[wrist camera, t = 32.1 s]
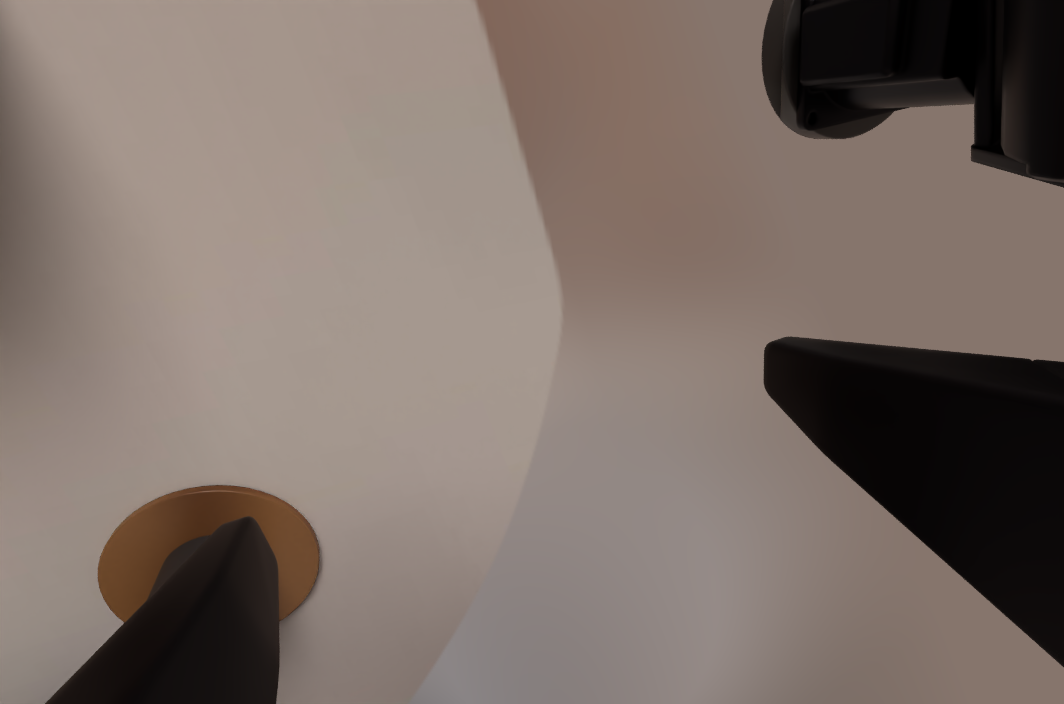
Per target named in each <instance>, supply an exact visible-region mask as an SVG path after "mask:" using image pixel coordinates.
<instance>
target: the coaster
mask: <svg viewBox="0 0 1064 704" xmlns="http://www.w3.org/2000/svg"><path fill="white" fill-rule="evenodd" d="M246 516H250V517H253V518H254V519H255V520H256V521H257V523H258V524H259V526H260V528H261V530H262V532H263V534H264V536H265V537H266V539H267V541H268V543H269V545H270V547H271V549H272V550H273V552H274V554H275V557H276V560H277V564H278V580H279V621H281V620H282V619H284V618H285V617H287V616H288V615H289V614H290V613H291V612H293V611H294V610H295V609H296V608H297V607H298V606H299V605H300V604H301V603H302V602H303V600H304V599H305V598H306V596H307V595H308V593H309V592H310V590H311V588H312V586H313V584H314V582H315V579H316V577H317V574H318V568H319V546H318V541H317V538H316V535H315V533H314V531H313V529H312V527H311V526H310V524H309V523H308V521H307V520H306V519H305V518H304V517H303V515H302V514H300V513H299V512H298V511H297V510H296V509H295V508H294V507H292V506H291V505H289V504H288V503H286V502H285V501H283V500H281V499H279V498H277V497H275V496H273V495H270V494H267V493H264V492H262V491H258V490H254V489H250V488H245V487H237V486H223V485H215V486H201V487H195V488H189V489H184V490H181V491H177V492H173V493H170V494H168V495H165V496H162V497H159V498H157V499H155V500H153V501H151V502H149V503H147V504H145V505H144V506H142V507H141V508H139V509H138V510H136V511H135V512H133V513H132V514H131V515H130V516H128V517H127V518H126V519H125V520H124V521H123V522H122V523H121V524H120V525H119V526H118V527H117V529H116V530H115V531H114V532H113V534H112V535H111V537H110V539H109V540H108V542H107V543H106V545H105V547H104V549H103V552H102V554H101V556H100V561H99V565H98V582H99V588H100V591H101V593H102V596H103V598H104V600H105V602H106V603H107V605H108V606H109V608H110V609H111V610H112V611H113V613H114V614H115V615H116V616H117V617H118V618H120V619H121V620H122V621H123V622H126V621H127V620H128V619H129V618H130V617H131V616H132V615H133V614H134V613H135V612H136V611H137V610H138V609H139V608H140V607H141V606H142V605H143V604H144V603H145V602H146V601H147V599H148V596H149V594H150V592H151V590H152V587H153V585H154V583H155V581H156V578H157V576H158V574H159V571H160V569H161V567H162V565H163V563H164V561H165V559H166V558H167V557H168V555H169V554H170V553H171V552H172V551H174V550H175V549H176V548H177V547H179V546H180V545H182V544H184V543H186V542H188V541H190V540H192V539H195V538H198V537H202V536H207V535H211V534H212V533H213V532H214V531H215V530H216V529H217V528H218V527H219V526H221V525H222V524H224V523H227V522H230V521H234V520H237V519H240V518H243V517H246Z"/></svg>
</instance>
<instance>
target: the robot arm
mask: <svg viewBox="0 0 1064 704" xmlns="http://www.w3.org/2000/svg"><path fill="white" fill-rule="evenodd" d="M964 104H974V144H973V145H972V146H971V161H973V162H976V163H980V164H983V165H987V166H990V167H994V168H997V169H1001V170H1004V171H1008V172H1011V173H1015V174H1018V175H1022V176H1025V177H1029V178H1032V179H1036V180H1039V181H1043V182H1046V183H1050V184H1053V185H1057V186H1060V187H1064V0H801V14H800V39H799V64H798V89H797V114H796V123H797V127H798V128H799V129H800V130H801V131H813V130H817V129H822V128H826V127H830V126H834V125H838V124H842V123H847V122H851V121H855V120H859V119H863V118H867V117H872V116H876V115H880V114H884V113H888V112H893V111H897V110H901V109H905V108H909V107H923V106H942V105H964ZM809 115H810V116H811V118H810V121H809V123H808V117H809ZM764 386H765V389H766V391H767V393H768V394H769V396H770V397H771V398H772V399H773V400H774V401H775V402H776V403H777V404H778V406H780V408H781V409H782V410H783V411H784V412H785V413H786V414H787V415H788V416H789V417H790V418H791V419H792V421H793V422H794V423H796V425H797V426H798V427H799V428H800V429H801V430H802V431H803V432H804V433H805V435H806V436H807V437H808V438H809V439H810V440H811V441H812V442H813V443H814V444H815V445H816V446H817V447H818V448H819V449H820V450H821V451H822V452H823V453H824V454H825V455H826V456H827V457H828V458H829V459H830V460H831V461H832V462H833V463H834V464H836V465H837V466H838V467H839V468H840V469H841V470H842V471H843V472H845V473H846V474H847V475H848V476H849V477H850V478H851V479H852V480H853V481H855V482H856V483H857V484H858V485H859V486H860V487H861V488H863V489H864V490H865V491H866V492H867V493H868V494H869V495H870V496H872V497H873V498H874V499H875V500H876V501H877V502H878V503H879V504H880V505H882V506H883V507H884V508H885V509H886V510H887V511H888V512H889V513H891V514H892V515H893V516H894V517H895V518H896V519H898V521H900V522H901V523H902V524H903V525H904V526H905V527H907V528H908V529H909V530H910V531H911V532H912V533H913V534H914V535H915V536H917V537H918V538H919V539H920V540H921V541H922V542H923V543H924V544H926V545H927V546H928V547H929V548H930V549H931V550H932V551H933V552H935V553H936V554H937V555H938V556H939V557H940V558H941V559H942V560H944V561H945V562H946V563H947V564H948V565H949V566H950V567H951V568H953V569H954V570H955V571H956V572H957V573H958V574H959V575H961V576H962V577H963V578H964V579H965V580H966V581H967V582H969V584H971V585H972V586H973V587H974V588H975V589H976V590H977V591H978V592H980V593H981V594H982V595H983V596H984V597H985V598H986V599H987V600H989V601H990V602H991V603H992V604H993V605H994V606H995V607H996V608H998V609H999V610H1000V611H1001V612H1002V613H1003V614H1004V615H1005V616H1007V617H1008V618H1009V619H1010V620H1011V621H1012V622H1013V623H1014V624H1016V625H1017V626H1018V627H1019V628H1020V629H1021V630H1022V631H1023V632H1025V633H1026V634H1027V635H1028V636H1029V637H1030V638H1031V639H1032V640H1034V641H1035V642H1036V643H1037V644H1038V645H1039V646H1040V647H1041V648H1043V649H1044V650H1045V651H1046V652H1047V653H1048V654H1049V655H1051V656H1052V657H1053V658H1054V659H1055V660H1056V661H1057V662H1058V663H1059V664H1061V665H1062V666H1063V667H1064V362H1058V361H1046V360H1034V361H1031V360H1030V359H1025V358H1014V357H1002V356H993V355H982V354H971V353H960V352H950V351H939V350H928V349H918V348H906V347H896V346H885V345H875V344H864V343H853V342H843V341H832V340H821V339H811V338H810V339H809V338H799V337H784V338H781V339H778V340H775V341H772V342H770V343H768V344H767V345H766V347H765V350H764ZM279 653H280V648H279V580H278V564H277V560H276V557H275V554H274V552H273V550H272V549H271V547H270V545H269V543H268V541H267V539H266V537H265V536H264V534H263V532H262V530H261V528H260V526H259V524H258V523H257V521H256V520H255V519H254V518H253V517H250V516H246V517H243V518H240V519H237V520H234V521H230V522H227V523H224V524H222V525H221V526H219V527H218V528H217V529H216V530H215V531H214V532H213V533H212V534H211V535H210V536H209V537H208V538H207V540H206V541H205V542H204V543H203V544H202V545H201V546H200V547H199V548H198V549H197V550H196V551H195V552H194V553H193V554H192V555H191V556H190V557H189V558H188V559H187V560H186V561H185V562H184V563H183V564H182V565H181V566H180V567H179V568H178V569H177V570H176V571H175V572H174V573H173V574H172V575H171V576H170V577H169V578H168V579H167V580H166V581H165V582H164V583H163V584H162V585H161V586H160V587H159V588H158V589H157V590H156V591H155V592H154V593H153V594H152V595H151V597H150V598H149V599H148V600H147V601H146V602H145V603H144V604H143V605H142V606H141V607H140V608H139V609H138V610H137V611H136V612H135V613H134V614H133V615H132V616H131V617H130V618H129V619H128V620H127V621H126V622H125V623H124V624H123V625H122V626H121V627H120V628H119V629H118V630H117V631H116V632H115V633H114V634H113V635H112V636H111V637H110V638H109V639H108V640H107V641H106V642H105V643H104V644H103V645H102V646H101V647H100V648H99V649H98V650H97V651H96V652H95V653H94V655H93V656H92V657H91V658H90V659H89V660H88V661H87V662H86V663H85V664H84V665H83V666H82V667H81V668H80V669H79V670H78V671H77V672H76V673H75V674H74V675H73V676H72V677H71V678H70V679H69V680H68V681H67V682H66V683H65V684H64V685H63V686H62V687H61V688H60V689H59V690H58V691H57V692H56V693H55V694H54V695H53V696H52V697H51V698H50V699H49V700H48V701H47V702H46V703H45V704H276V698H277V689H278V678H279Z"/></svg>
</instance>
